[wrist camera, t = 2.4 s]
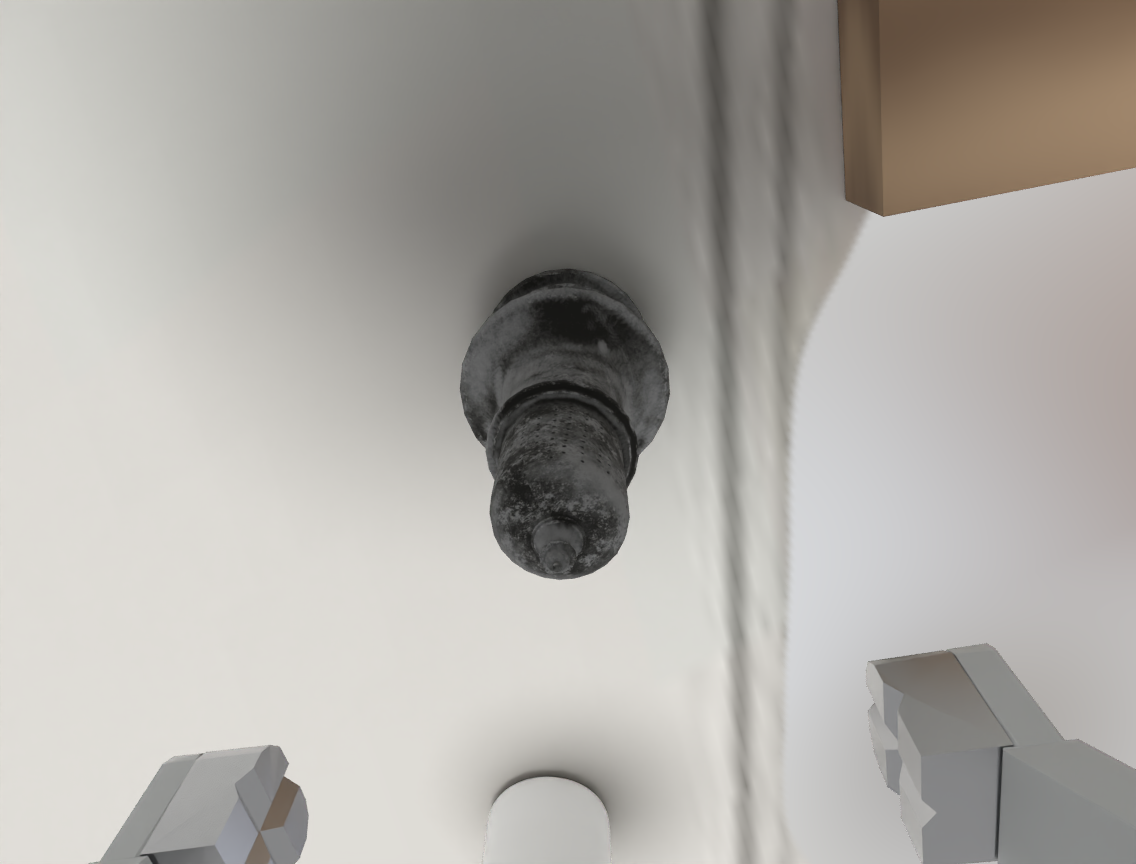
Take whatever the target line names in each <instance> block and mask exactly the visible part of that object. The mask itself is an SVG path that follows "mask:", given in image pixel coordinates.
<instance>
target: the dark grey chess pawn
mask: <svg viewBox="0 0 1136 864" xmlns="http://www.w3.org/2000/svg"><path fill="white" fill-rule="evenodd" d="M460 393H461V398H462V403H463V409H464V414H465V416H466V418H467V420H468V422H469V424H470V426H471V429H472V431H473V433H474V435H475V437H476V438H477V439H478V440H479V441H480V443H481V444H482V445H483V446H484V447H485V448H486V456H487V461H488V466H489V470H490V472H491V474H492V476H493V478H494V480H495V481H494V486H493V491H492V496H491V504H490V517H491V523H492V528H493V532H494V536H495V538H496V540H497V542H498V544H499V546H500V548H501V550H502V551H503V552H504V553H505V554H506V555H507V556H508V557H509V558H510V560H511V561H512V562H514V563H515V564H517V565H518V566H520V567H521V568H523V569H524V570H526V571H528V572H530V573H533V574H536V575H538V576H541V577H544V578H551V579H558V580H562V579H574V578H578V577H581V576H585V575H588V574H591V573H593V572H595V571H597V570H598V569H600V568H601V567H603V566H605V565H606V564H607V563H608V562H609V561H610V560H611V559H612V558H613V557H614V556H615V555H616V554H617V553H618V551H619V549H620V547H621V545H622V543H623V541H624V539H625V536H626V533H627V528H628V523H629V518H630V516H629V506H628V497H627V488H628V486H629V484H630V482H631V480H632V478H633V476H634V475H635V472H636V467H637V462H638V457H639V454H640V453H641V452H642V451H643V450H644V449H645V448H646V447H647V446H648V445H649V444H650V443H651V442H652V440H653V439H654V437H655V435H656V433H657V431H658V429H659V427H660V426H661V424H662V422H663V420H664V418H665V413H666V409H667V404H668V400H669V395H670V389H669V372H668V366H667V363H666V360H665V358H664V355H663V352H662V349H661V346H660V344H659V342H658V340H657V339H656V337H655V336H654V335H653V333H652V332H651V330H650V329H649V328H648V326H647V325H646V323H645V322H644V321H643V320H642V317H641V314H640V312H639V310H638V309H637V308H636V306H635V305H634V303H633V302H632V301H631V299H630V298H629V296H628V295H627V294H626V293H624V292H623V291H622V290H621V289H620V288H618V287H617V286H616V285H615V284H613V283H612V282H611V281H609V280H607V279H604V278H602V277H600V276H598V275H595V274H593V273H591V272H585V271H579V270H572V269H562V270H553V271H545V272H543V273H540V274H538V275H535V276H533V277H530V278H527V279H525V280H524V281H522V282H521V283H520V284H518V285H517V286H516V287H514V288H513V289H512V290H510V291H509V292H508V293H507V294H506V295H505V297H504V298H503V299H502V300H501V302H500V303H499V304H498V306H497V307H496V308H495V310H494V312H493V314H492V315H491V316H490V317H489V318H488V319H487V320H486V322H485V323H484V324H483V325H482V327H481V328H480V329H479V331H478V332H477V333H476V334H475V336H474V337H473V338H472V341H471V343H470V346H469V348H468V351H467V353H466V356H465V358H464V361H463V363H462V373H461V383H460Z"/></svg>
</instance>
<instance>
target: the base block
mask: <svg viewBox="0 0 1136 864" xmlns="http://www.w3.org/2000/svg"><path fill="white" fill-rule="evenodd" d="M838 23H839V47H840V71H841V96H842V120H843V144H844V168H845V192H846V200H847V201H849V202H851V203H853V204H856V205H858V206H860V207H862V208H865V209H867V210H869V211H872V212H874V213H876V214H878V215H881V216H883V217H885V216H890V215H895V214H900V213H905V212H910V211H915V210H921V209H926V208H930V207H936V206H941V205H946V204H951V203H957V202H962V201H967V200H971V199H977V198H982V197H987V196H992V195H997V194H1002V193H1007V192H1013V191H1018V190H1023V189H1028V188H1033V187H1038V186H1043V185H1049V184H1053V183H1059V182H1064V181H1069V180H1074V179H1079V178H1085V177H1090V176H1094V175H1100V174H1105V173H1110V172H1115V171H1120V170H1126V169H1131V168H1135V167H1136V0H838Z"/></svg>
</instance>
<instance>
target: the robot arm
mask: <svg viewBox="0 0 1136 864" xmlns="http://www.w3.org/2000/svg"><path fill="white" fill-rule="evenodd" d="M866 684H867V687H868V689H869V691H870V694H871V695H872V698H873V700H874V702H875V703H874V704H873V705H872V706H871V708H870V709H869V710H868V718H869V730H870V735H871V740H872V745H873V749H874V753H875V756H876V759H877V762H878V765H879V768H880V770H881V773H882V775H883V778H884V780H885V782H886V785H887V787H888V788H890V789H891V790H893V791H894V792H896V793H897V794H898V795H900V806H901V807H900V808H901V819H902V821H903V823H904V826H905V828H906V830H907V832H908V835H909V837H910V839H911V841H912V843H913V846H914V848H915V850H916V852H917V855H918V857H919V859H920V861H921V863H922V864H966V863H979V862H991V861H998V864H1136V769H1134V768H1132V767H1130V766H1128V765H1126V764H1124V763H1123V762H1121V761H1119V760H1117V759H1115V758H1113V757H1111V756H1109V755H1107V754H1106V753H1104V752H1102V751H1100V750H1098V749H1096V748H1094V747H1092V746H1090V745H1088V744H1087V743H1085V742H1083V741H1081V740H1079V739H1075V740H1064V738H1063V737H1062V736H1061V734H1060V733H1059V732H1058V731H1057V729H1056V728H1055V726H1054V725H1053V724H1052V723H1051V721H1050V720H1049V719H1048V717H1047V716H1046V715H1045V713H1044V712H1043V711H1042V709H1041V708H1040V707H1039V705H1038V704H1037V703H1036V701H1035V700H1034V699H1033V697H1032V696H1031V695H1030V694H1029V692H1028V691H1027V690H1026V688H1025V687H1024V686H1023V684H1022V683H1021V682H1020V680H1019V679H1018V678H1017V676H1016V675H1015V674H1014V673H1013V671H1012V670H1011V669H1010V667H1009V666H1008V665H1007V663H1006V662H1005V661H1004V660H1003V658H1002V657H1001V655H1000V654H999V653H998V651H997V650H996V649H995V648H994V647H992V646H991V645H989V644H987V643H986V644H979V645H973V646H966V647H960V648H953V649H947V650H946V651H936V652H929V653H922V654H915V655H909V656H902V657H895V658H888V659H882V660H876V661H868V662H867V667H866ZM288 765H289V763H288V761H287V759H286V757H285V756H284V754H283V752H282V750H281V748H280V747H279V746H273V745H265V746H257V747H248V748H239V749H230V750H221V751H212V752H206V753H202V754H193V755H183V756H174V757H172V758H171V759H169V760H168V761H166V762H165V763H163V764H162V766H161V767H160V769H159V771H158V772H157V774H156V775H155V777H154V778H153V780H152V781H151V783H150V784H149V786H148V788H147V789H146V791H145V792H144V794H143V795H142V797H141V798H140V800H139V802H138V803H137V805H136V806H135V808H134V809H133V811H132V812H131V814H130V816H129V817H128V819H127V820H126V822H125V823H124V825H123V826H122V828H121V830H120V831H119V833H118V834H117V836H116V837H115V839H114V840H113V842H112V844H111V845H110V847H109V848H108V850H107V851H106V853H105V854H104V856H103V857H102V859H101V861H100V862H94V863H89V864H295V863H296V862H297V861H298V860H299V858H300V855H301V852H302V850H303V847H304V844H305V841H306V838H307V827H308V816H309V815H308V810H307V804H306V799H305V797H304V795H303V792H302V790H301V788H300V786H298V785H297V784H295V783H294V782H292V781H291V780H289V779H287V778H286V777H284V775H285V772H286V770H287V767H288Z"/></svg>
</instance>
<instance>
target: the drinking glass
mask: <svg viewBox="0 0 1136 864" xmlns="http://www.w3.org/2000/svg"><path fill="white" fill-rule="evenodd" d="M481 864H612V859H611V839H610V824H609V818H608V814H607V811H606V809H605V807H604V805H603V803H602V802H601V800H600V799H599V798H598V797H597V796H596V794H594V793H593V792H592V791H591V790H590V789H588V788H587V787H585V786H583V785H582V784H579V783H577V782H575V781H572V780H569V779H564V778H559V777H536V778H531V779H527V780H523V781H521V782H518V783H516V784H514V785H512V786H511V787H509V788H508V789H506V790H505V791H504V792H503V793H502V794H501V795H500V796H499V797H498V798H497V799H496V801H495V802H494V804H493V806H492V808H491V810H490V813H489V817H488V821H487V828H486V836H485V844H484V852H483V858H482V863H481Z"/></svg>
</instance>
